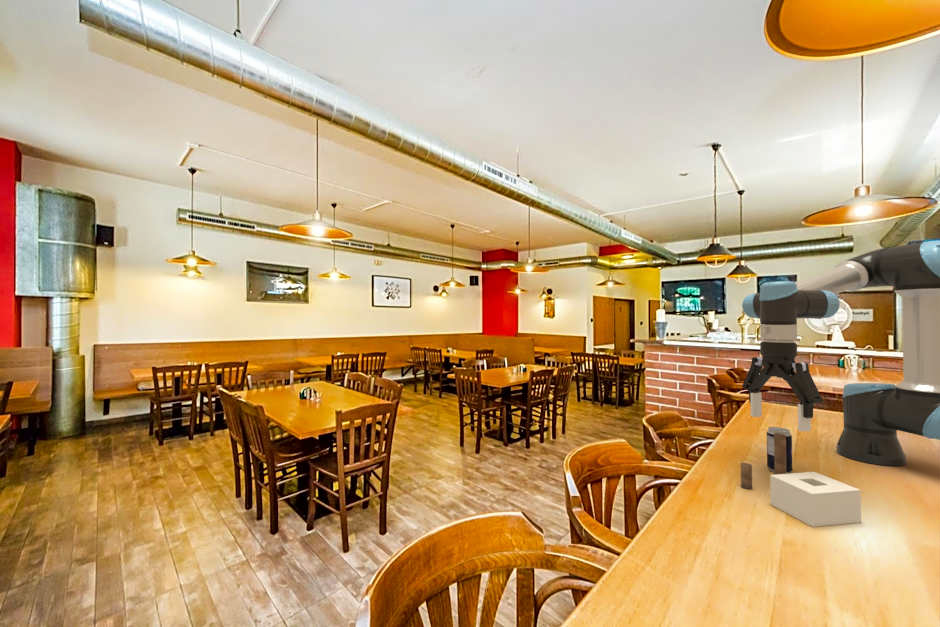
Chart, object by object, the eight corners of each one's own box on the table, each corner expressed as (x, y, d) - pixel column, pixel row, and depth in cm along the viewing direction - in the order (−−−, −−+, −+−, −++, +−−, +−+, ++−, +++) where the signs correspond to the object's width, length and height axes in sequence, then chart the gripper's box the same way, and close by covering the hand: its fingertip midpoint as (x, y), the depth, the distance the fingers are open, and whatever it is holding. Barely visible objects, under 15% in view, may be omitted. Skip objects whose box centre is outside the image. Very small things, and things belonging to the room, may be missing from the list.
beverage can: (797, 475, 109) (796, 432, 109) (773, 474, 110) (773, 431, 110) (785, 467, 115) (784, 427, 115) (763, 466, 116) (762, 426, 116)
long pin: (780, 486, 102) (779, 433, 102) (789, 490, 100) (788, 435, 100) (772, 486, 102) (771, 433, 102) (780, 491, 100) (780, 436, 100)
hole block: (814, 500, 94) (814, 471, 94) (861, 522, 84) (860, 490, 85) (770, 504, 93) (770, 475, 93) (812, 526, 83) (812, 493, 83)
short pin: (746, 485, 103) (746, 462, 103) (754, 489, 101) (754, 466, 101) (738, 485, 103) (738, 463, 103) (746, 489, 101) (745, 466, 101)
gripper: (727, 338, 113) (727, 411, 113) (813, 344, 88) (814, 438, 88) (750, 338, 114) (751, 411, 114) (842, 344, 89) (843, 437, 89)
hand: (778, 423), depth 101 cm, fingers open, 13 cm apart
